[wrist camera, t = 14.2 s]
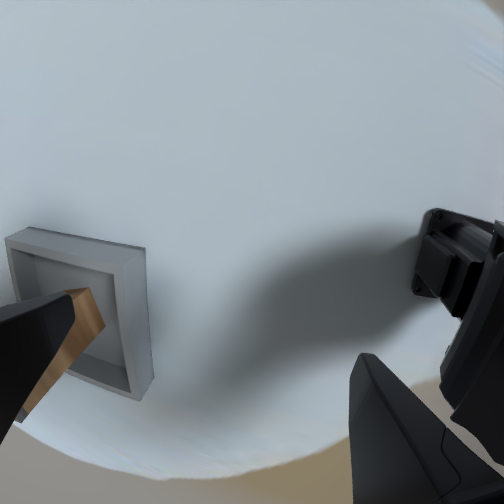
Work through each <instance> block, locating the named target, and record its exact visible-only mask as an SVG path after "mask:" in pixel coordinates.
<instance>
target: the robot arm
mask: <svg viewBox="0 0 504 504" xmlns="http://www.w3.org/2000/svg"><path fill="white" fill-rule="evenodd" d="M438 213H441V216H440V218H437V215H438ZM493 230H494V232H493ZM415 270H416V273H415V276H414V280H413V283H412V286H411V290H412V292H413V293H414V294H415V295H418V296H425V297H432V298H439V299H440V301H441V302H442V303H443V305H444V306H445V307H446V309H447V310H448V311H449V313H450V314H451V315H452V316H453V317H457V318H458V319H459V321H460V322H461V324H460V326H459V328H458V330H457V333H456V335H455V337H454V339H453V341H452V343H451V345H449V346H448V348H447V350H446V352H445V357H444V359H443V361H442V364H441V366H440V374H441V383H440V385H439V388H440V390H441V392H442V394H443V396H444V398H445V400H446V401H447V402H448V404H449V405H450V406H451V408H452V409H453V410H454V412H453V414H452V415H451V416H450V419H451V420H452V421H453V422H455V423H457V424H459V425H460V426H462V427H464V428H466V429H467V430H468V431H469V432H470V433H472V434H473V435H474V436H475V437H476V438H477V439H478V440H479V441H480V443H481V444H482V445H483V446H484V448H485V449H486V450H487V452H488V453H489V455H490V456H491V458H492V459H493V460H494V461H495V462H496V463H498V464H501V465H503V466H504V222H501V221H497V220H495V223H491V222H488V221H484V220H481V219H478V218H474V217H471V216H467V215H464V214H460V213H456V212H453V211H449V210H445V209H441V208H436V209H434V210H433V212H432V215H431V220H430V224H429V228H428V232H427V235H426V236H425V237H424V239H423V242H422V246H421V250H420V253H419V257H418V260H417V263H416V267H415ZM418 286H420V288H419V289H418V290H416V288H417V287H418ZM75 317H76V316H75V310H74V305H73V300H72V297H71V295H70V294H67V293H64V292H56V293H53V294H49V295H45V296H41V297H37V298H33V299H30V300H26V301H22V302H18V303H14V304H10V305H7V306H3V307H0V445H1V443H2V441H3V439H4V437H5V435H6V434H7V432H8V430H9V428H10V427H11V425H12V423H13V422H14V420H15V418H16V416H17V415H18V413H19V411H20V410H21V408H22V406H23V405H24V403H25V402H26V400H27V398H28V397H29V395H30V394H31V392H32V390H33V389H34V387H35V386H36V384H37V383H38V381H39V380H40V378H41V377H42V375H43V373H44V372H45V370H46V369H47V368H48V366H49V365H50V363H51V362H52V360H53V359H54V357H55V355H56V354H57V352H58V350H59V349H60V347H61V345H62V343H63V341H64V340H65V338H66V336H67V334H68V333H69V331H70V329H71V327H72V326H73V324H74V322H75ZM349 438H350V449H351V465H352V484H353V504H504V477H502V476H501V475H500V474H499V473H498V472H496V471H495V470H494V469H493V468H492V467H490V466H489V465H488V464H486V462H484V461H483V460H482V459H481V458H480V457H478V456H477V455H476V454H475V453H474V452H473V451H471V450H470V449H469V448H468V447H467V446H466V445H465V444H464V443H463V442H462V441H461V440H460V439H459V438H457V436H456V435H455V434H454V433H453V432H451V430H450V429H449V428H446V426H445V424H444V423H443V422H442V421H440V420H439V418H438V417H437V416H436V415H435V414H434V413H433V412H432V411H431V410H430V409H429V408H428V407H427V406H426V405H425V404H424V403H423V402H422V401H421V400H420V399H419V398H418V397H417V396H416V395H415V394H414V393H413V392H412V391H411V390H410V389H409V388H408V387H407V386H406V385H405V384H404V383H403V382H402V381H401V380H400V379H399V378H398V377H397V376H396V375H395V374H394V373H393V372H392V371H391V370H390V369H389V368H388V367H387V366H386V365H385V364H384V363H383V362H382V361H381V360H380V359H379V358H378V357H377V356H375V355H374V354H370V353H361V354H359V356H358V358H357V360H356V363H355V365H354V368H353V370H352V373H351V376H350V386H349Z"/></svg>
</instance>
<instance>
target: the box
mask: <svg viewBox="0 0 504 504" xmlns="http://www.w3.org/2000/svg"><path fill="white" fill-rule="evenodd" d="M5 244H6V251H7V256H8V262H9V267H10V272H11V277H12V282H13V286H14V290H15V295H16V299H17V302H22V301H26V300H30V299H33V298H37V297H41V296H45V295H49V294H53V293H56V292H60V291H61V290H70V289H78V288H87V287H90V290H91V292H92V295H93V297H94V300H95V302H96V305H97V307H98V309H99V312H100V314H101V316H102V319H103V321H104V323H105V325H106V327H105V328H104V329H103V330H102V331H101V332H100V333H99V334H98V335H97V337H96V338H95V339H94V340H93V341H92V342H91V343H90V344H89V345H88V346H87V347H86V349H85V350H84V351H83V352H82V353H81V354H80V355H79V356H78V357H77V359H76V360H75V361H74V362H73V363H72V364H71V365H70V366H69V368H68V369H67V370H66V371H65V372H66V373H68V374H70V375H72V376H75V377H77V378H79V379H82V380H84V381H86V382H89V383H91V384H94V385H96V386H99V387H101V388H104V389H106V390H109V391H112V392H114V393H117V394H120V395H123V396H125V397H128V398H131V399H134V400H137V401H141V399H142V398H143V396H144V394H145V392H146V391H147V389H148V387H149V385H150V384H151V382H152V380H153V379H154V373H153V364H152V355H151V344H150V333H149V320H148V305H147V286H146V253H145V248H142V247H137V246H131V245H126V244H120V243H114V242H109V241H103V240H98V239H92V238H87V237H81V236H76V235H71V234H65V233H60V232H54V231H49V230H44V229H39V228H33V227H28V228H25V229H23V230H21V231H19V232H17V233H14V234H12V235H10V236H8V237H6V238H5Z"/></svg>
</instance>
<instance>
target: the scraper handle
mask: <svg viewBox="0 0 504 504" xmlns="http://www.w3.org/2000/svg"><path fill="white" fill-rule="evenodd" d="M60 292H64V293H67V294H70V295H71V297H72V300H73V305H74V310H75V316H76V317H75V322H74V324H73V326H72V327H71V329H70V331H69V333H68V334H67V336H66V338H65V340H64V341H63V343H62V345H61V347H60V349H59V350H58V352H57V354H56V355H55V357H54V359H53V360H52V362H51V363H50V365H49V366H48V368H47V369H46V370H45V372H44V373H43V375H42V377H41V378H40V380H39V381H38V383H37V384H36V386H35V387H34V389H33V390H32V392H31V394H30V395H29V397H28V398H27V400H26V402H25V403H24V405H23V406H22V408H21V410H20V411H19V413H18V415H17V416H16V418H15V421H17V422H19V423H22V422H23V421H24V419H25V418H26V417H27V416H28V414H29V413H30V412H31V411H32V410H33V408H34V407H35V406H36V405H37V404H38V402H39V401H40V400H41V399H42V398H43V396H44V395H45V394H46V393H47V392H48V391H49V389H50V388H51V387H52V386H53V385H54V384H55V382H56V381H57V380H58V379H59V378H60V377H61V376H62V374H63V373H64V372H65V371H66V370H67V369H68V368H69V366H70V365H71V364H72V363H73V362H74V361H75V360H76V359H77V357H78V356H79V355H80V354H81V353H82V352H83V351H84V350H85V349H86V347H87V346H88V345H89V344H90V343H91V342H92V341H93V340H94V339H95V338H96V337H97V335H98V334H99V333H100V332H101V331H102V330H103V329H104V328H105V327H106V325H105V323H104V321H103V319H102V316H101V314H100V312H99V309H98V307H97V305H96V302H95V300H94V297H93V295H92V292H91V290H90V287H87V288H78V289H70V290H61V291H60Z"/></svg>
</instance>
